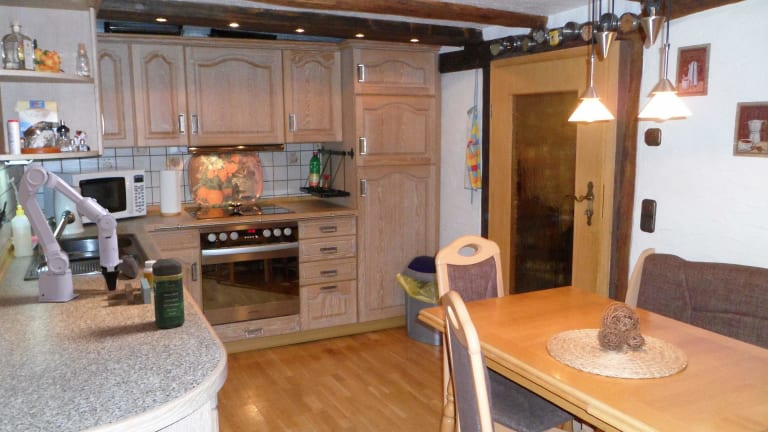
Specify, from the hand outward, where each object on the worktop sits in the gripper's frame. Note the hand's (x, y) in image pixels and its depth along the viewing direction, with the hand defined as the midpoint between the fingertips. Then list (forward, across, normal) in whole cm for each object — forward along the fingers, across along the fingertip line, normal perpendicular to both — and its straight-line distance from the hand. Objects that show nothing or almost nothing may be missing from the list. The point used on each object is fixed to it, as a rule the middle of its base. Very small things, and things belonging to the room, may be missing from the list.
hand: (111, 287), depth 207 cm
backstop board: (+2, -13, -10) cm, 16 cm away
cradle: (+2, -13, -2) cm, 13 cm away
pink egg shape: (+2, 0, 0) cm, 2 cm away
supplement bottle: (+2, -2, -13) cm, 13 cm away
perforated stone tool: (+2, +22, -7) cm, 24 cm away
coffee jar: (+2, -44, -14) cm, 46 cm away
